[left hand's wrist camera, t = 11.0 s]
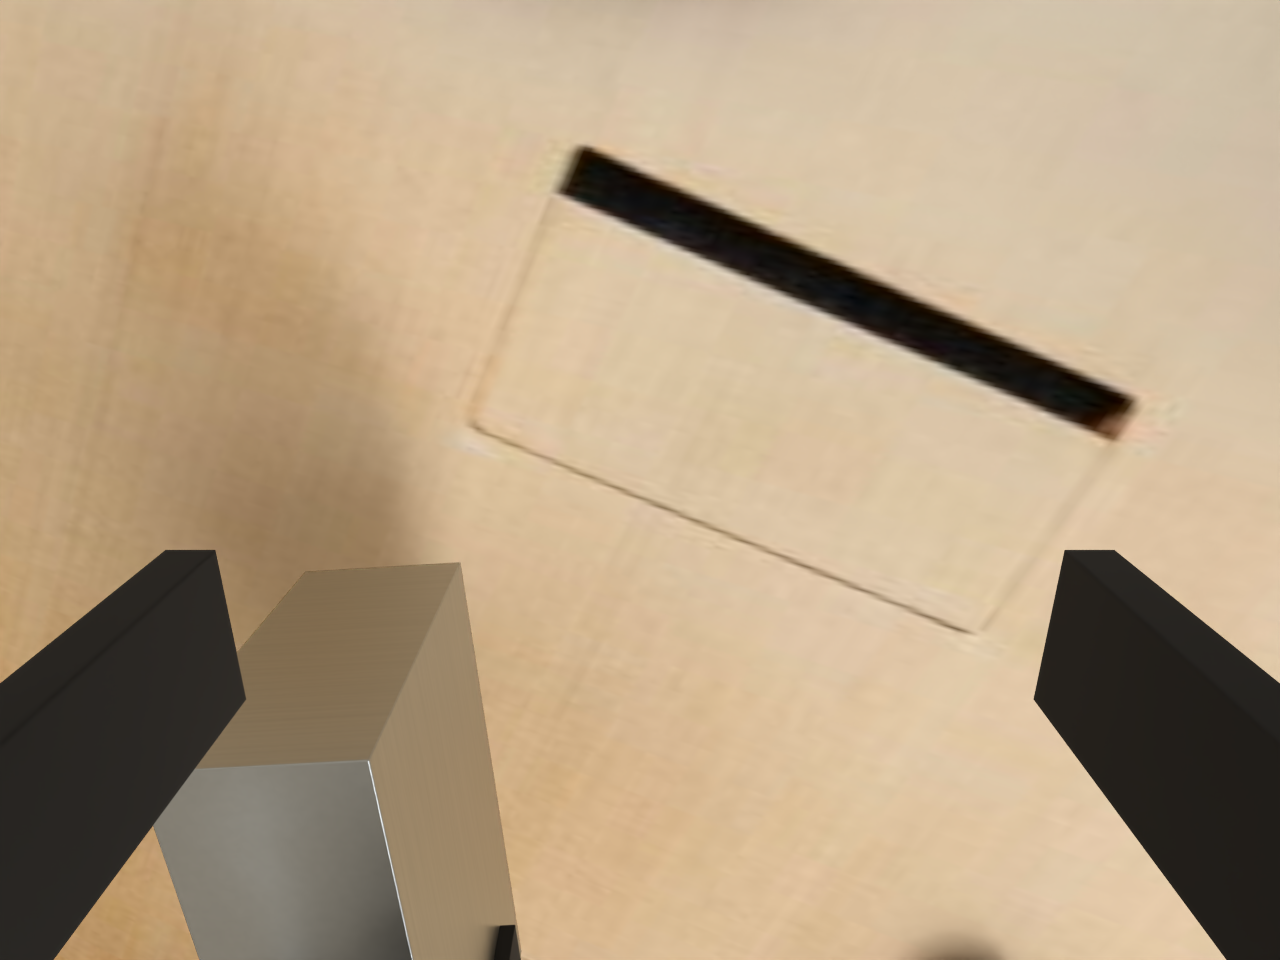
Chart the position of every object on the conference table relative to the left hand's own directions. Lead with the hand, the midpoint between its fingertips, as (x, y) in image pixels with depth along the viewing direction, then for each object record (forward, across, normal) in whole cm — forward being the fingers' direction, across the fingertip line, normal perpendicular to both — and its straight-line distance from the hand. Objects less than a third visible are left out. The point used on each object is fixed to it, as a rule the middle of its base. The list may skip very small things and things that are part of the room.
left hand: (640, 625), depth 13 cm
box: (+19, -10, -20) cm, 30 cm away
